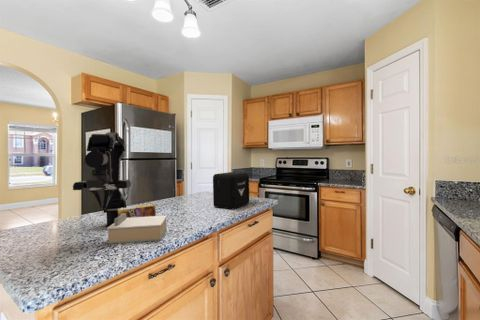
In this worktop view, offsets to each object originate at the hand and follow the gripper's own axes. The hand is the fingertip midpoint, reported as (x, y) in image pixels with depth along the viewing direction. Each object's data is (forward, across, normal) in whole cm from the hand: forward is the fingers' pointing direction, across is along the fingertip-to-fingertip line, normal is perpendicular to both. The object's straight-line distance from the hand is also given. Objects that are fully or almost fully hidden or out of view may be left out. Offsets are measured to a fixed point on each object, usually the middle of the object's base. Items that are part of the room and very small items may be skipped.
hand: (103, 207), depth 89 cm
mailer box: (+12, +13, 0) cm, 18 cm away
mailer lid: (+7, +13, 0) cm, 15 cm away
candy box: (+8, +16, +16) cm, 24 cm away
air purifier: (+12, +55, +47) cm, 73 cm away
